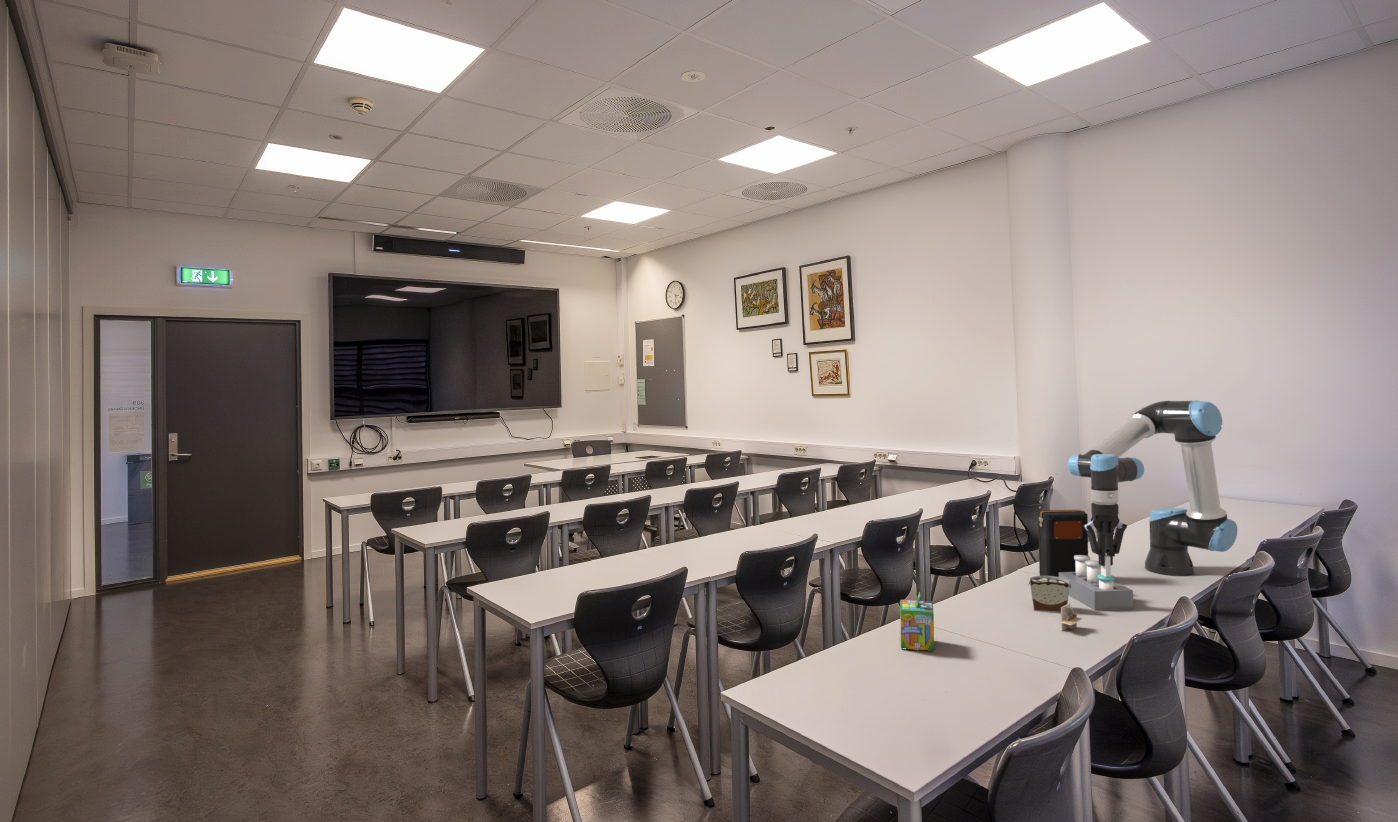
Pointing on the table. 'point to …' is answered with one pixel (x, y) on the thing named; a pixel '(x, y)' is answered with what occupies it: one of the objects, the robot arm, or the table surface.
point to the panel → (1098, 593)
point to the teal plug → (1105, 582)
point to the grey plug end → (1081, 565)
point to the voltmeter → (1061, 540)
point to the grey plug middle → (1093, 570)
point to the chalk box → (917, 624)
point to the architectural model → (1068, 618)
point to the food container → (1049, 593)
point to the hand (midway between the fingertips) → (1105, 575)
